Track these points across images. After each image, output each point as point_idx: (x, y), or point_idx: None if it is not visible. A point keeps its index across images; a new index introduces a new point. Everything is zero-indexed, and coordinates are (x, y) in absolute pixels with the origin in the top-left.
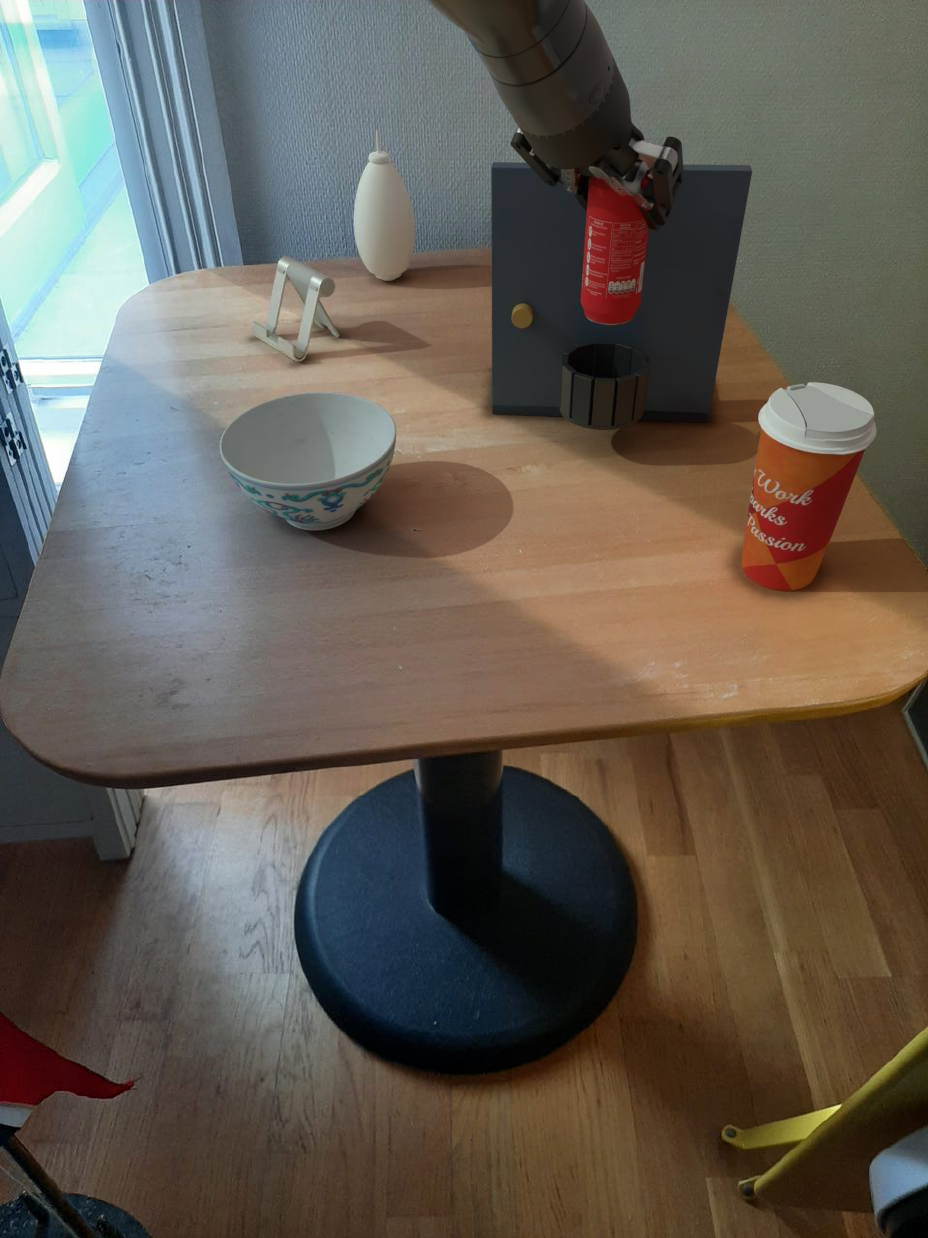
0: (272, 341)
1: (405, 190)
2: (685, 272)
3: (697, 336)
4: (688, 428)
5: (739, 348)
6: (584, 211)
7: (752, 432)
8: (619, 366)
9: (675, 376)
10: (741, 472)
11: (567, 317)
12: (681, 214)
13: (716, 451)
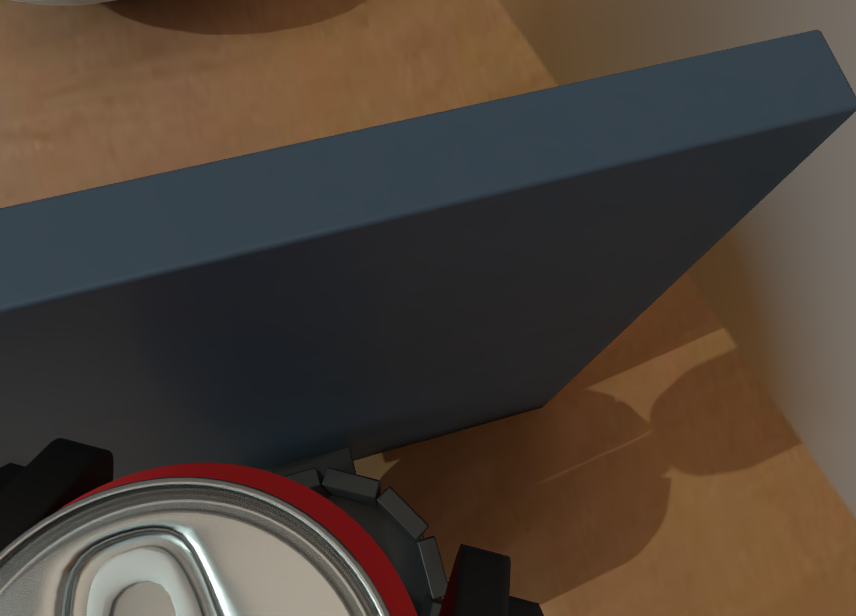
0: None
1: None
2: (505, 339)
3: (532, 374)
4: (510, 443)
5: (526, 85)
6: (30, 392)
7: (639, 413)
8: (345, 495)
9: (476, 409)
10: (661, 586)
11: None
12: (493, 278)
13: (590, 518)
